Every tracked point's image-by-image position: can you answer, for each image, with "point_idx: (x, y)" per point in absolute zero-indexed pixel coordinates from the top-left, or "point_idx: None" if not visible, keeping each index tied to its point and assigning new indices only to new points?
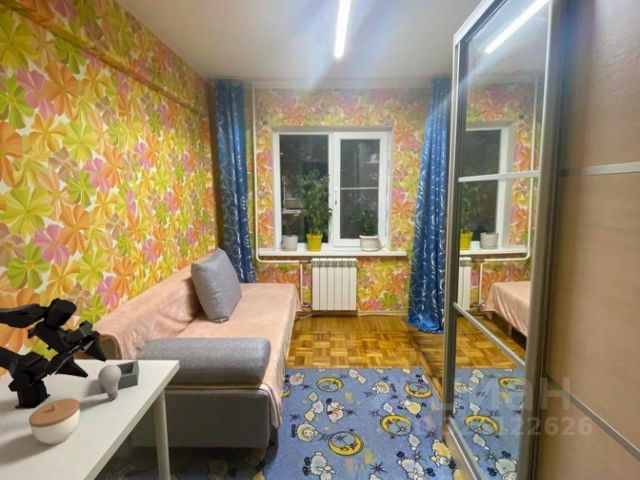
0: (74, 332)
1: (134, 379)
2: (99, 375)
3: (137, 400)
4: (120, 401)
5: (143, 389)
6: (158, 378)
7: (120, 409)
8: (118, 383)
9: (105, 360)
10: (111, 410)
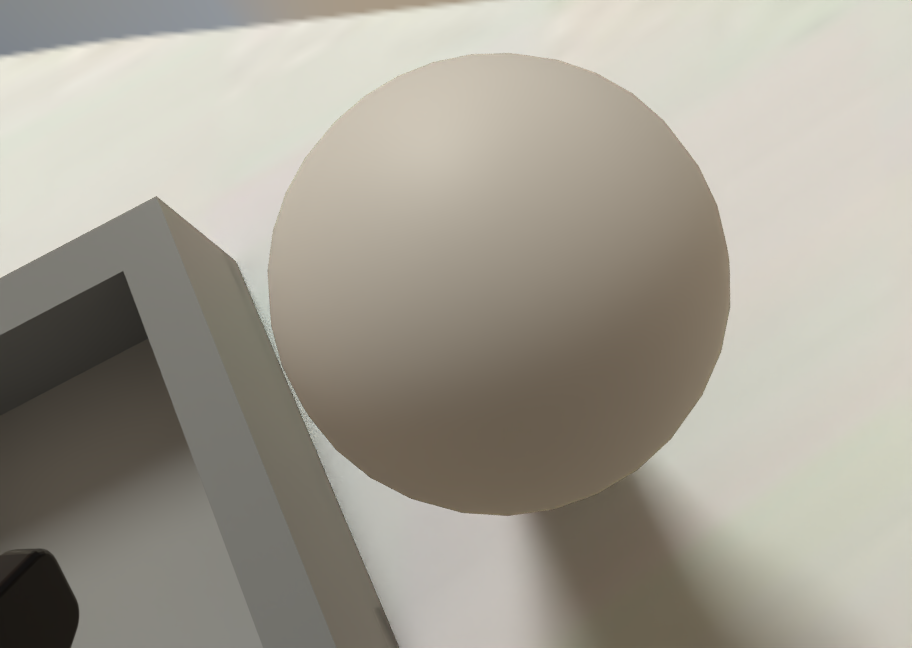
0: None
1: (207, 252)
2: (680, 378)
3: None
4: None
5: None
6: (117, 95)
7: (755, 162)
8: (283, 437)
9: (51, 573)
10: (783, 260)
